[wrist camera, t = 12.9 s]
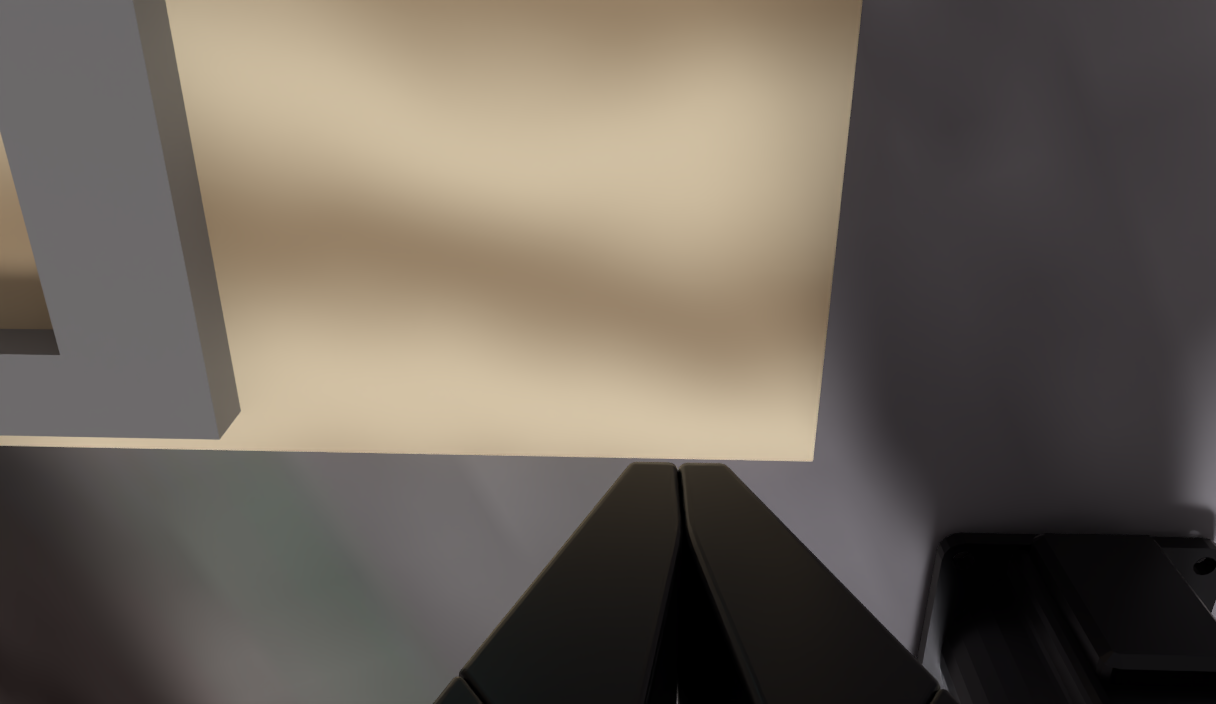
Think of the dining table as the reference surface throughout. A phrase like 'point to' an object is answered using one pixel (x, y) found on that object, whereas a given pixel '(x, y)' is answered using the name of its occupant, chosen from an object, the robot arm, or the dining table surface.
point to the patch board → (510, 222)
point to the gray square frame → (109, 230)
